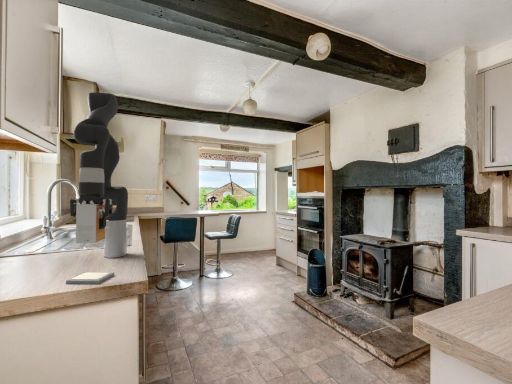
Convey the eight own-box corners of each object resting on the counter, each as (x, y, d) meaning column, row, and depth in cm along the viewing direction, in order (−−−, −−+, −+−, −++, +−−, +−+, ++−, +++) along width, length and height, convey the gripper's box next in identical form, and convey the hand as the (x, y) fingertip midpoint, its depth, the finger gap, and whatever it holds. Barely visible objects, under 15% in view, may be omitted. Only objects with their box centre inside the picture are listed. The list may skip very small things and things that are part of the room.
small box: (96, 243, 86) (96, 204, 86) (75, 243, 85) (75, 204, 85) (105, 239, 94) (105, 203, 94) (86, 239, 93) (86, 203, 93)
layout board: (84, 274, 94) (84, 271, 94) (114, 275, 94) (114, 272, 94) (66, 283, 85) (66, 279, 85) (98, 283, 85) (98, 280, 85)
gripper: (118, 182, 93) (117, 227, 93) (79, 182, 94) (79, 227, 94) (105, 181, 86) (104, 230, 86) (63, 181, 86) (62, 230, 86)
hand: (91, 228), depth 90 cm, fingers closed on small box, 7 cm apart
